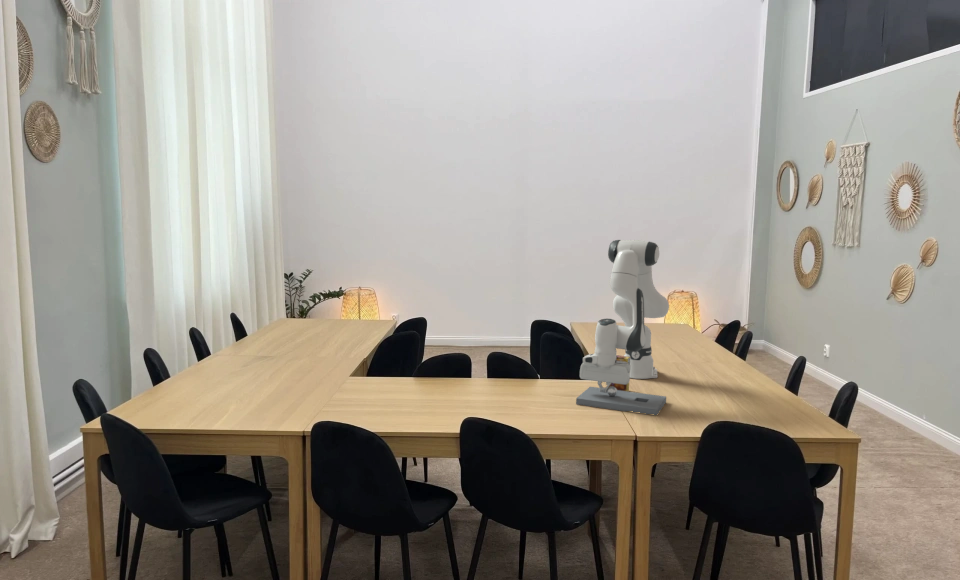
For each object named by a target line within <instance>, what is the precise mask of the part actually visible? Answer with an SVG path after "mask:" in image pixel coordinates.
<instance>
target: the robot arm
mask: <svg viewBox="0 0 960 580" xmlns="http://www.w3.org/2000/svg"><path fill="white" fill-rule="evenodd" d="M659 248H660V247H659V245H658V244H657V243H656V242H653V241H645V240H638V239H634V240H632V239H630V240H629V239H627V240H626V239H623V240H621V239H616V240H613V241H611V242H610V244H609V246H608V249H607V257H608V259H609V261H610V262H611V263H613V265H612V269H611V273H610V277H609V278H610V280H609V281H610V282H609V285H610V288H611V291H612V292H613V293H614V294H615V296H614V298H613V300H612V309H613V311H614V313H615V314H616V315H618V316H619V317H620V318H621V320H622V322H623V323H624V325H619V324H617V321H616V320H615V319H612V318H602V319H600V320H598V321H597V324H596V328H595V335H594V341H595V343H594V344H595V348H594V353H590V354H586V355H584V357H582V363H581V365H580V367H579V368H580V369H579V378H580V379H581V380H586V381H595V382H597V386H598V388H600V392H604V393H607V390H608V387H609V386H610V384H611V383H616V384H624V385H626V384H628V383H629V384H630V380H631V379H636V380H641V379H642V380H645V379H646V380H647V379H657V378H658V368H655V366H654V358H653V356H652V352H653V350H652V346H651V344H652V331H651V329H650V327H648V325H645V319H646V318H647V319H659V318H664V317H665V316H666V315H667V314H668V313H669V310H670V304H669V301H668V299H667V298H666V297H665V296H664V295H663V294H661V293H660V292H659V291H658V290H657V288H656V287H655V284H654V282H653V272H652V271H653V266H654V265H656V264H657V263H658V260H659V258H660V250H659ZM617 349H618V350H619V349H620V350H624V351H625V354H624V355H623V356H627V357H631V359H630V364H629V363H627V362H626V361H618V360H616V355H618V353H617ZM629 372H630V374H629ZM602 383H605V384H606V387H603V385H602Z"/></svg>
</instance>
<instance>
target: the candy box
mask: <svg viewBox="0 0 960 580" xmlns="http://www.w3.org/2000/svg"><path fill="white" fill-rule="evenodd" d="M630 359H631V357H627V356H624V355H621V354H620V355H618V354H616V360H618V361H626V362H627V363H629V364H630ZM629 374H630V372H629ZM611 386H613V387H615V388H616V389H617V390H620V391H628V392H630V382H629V383H628V384H626V385H624V384H616V383H611V384H610V386H609V387H611ZM609 387H608V388H609Z"/></svg>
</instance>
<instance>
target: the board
mask: <svg viewBox="0 0 960 580" xmlns="http://www.w3.org/2000/svg"><path fill="white" fill-rule="evenodd" d="M666 403H667V396H666V395H658V394H657V395H656V394H651V393H650V394H649V393H641V392H635V391H634V392H633V391H620V390H617V394H616V395H615V396H610V395H608V393H604V392H600V387H596V386H589V387H588V388H587V389H585V390H584V391H582V393H581V394H580V395H578V396H577V397H576V399H575V405H578V406H584V405H585V406H586V407H591V406H592V408H598V407H599V409H600V408H601V409H607V410H613V411H620V412H626V411H633V412H640V413H646V414H645V415H647V414H654V415H657V414H658V413H659V414H660V412H661V411H662V409H663V408H664V407H665V405H666ZM664 404H665V405H664ZM662 407H663V408H662ZM660 410H661V411H660ZM659 411H660V412H659ZM633 412H632V413H633ZM640 413H639V414H640ZM659 414H658V415H659ZM654 415H653V416H654ZM658 415H657V416H658Z"/></svg>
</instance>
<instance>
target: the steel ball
mask: <svg viewBox="0 0 960 580" xmlns="http://www.w3.org/2000/svg"><path fill="white" fill-rule="evenodd" d="M607 393H608V395H610V396H615V395H616V394H617V389H616V388H615V387H613V386H611V387H609V388H608V390H607Z"/></svg>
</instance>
